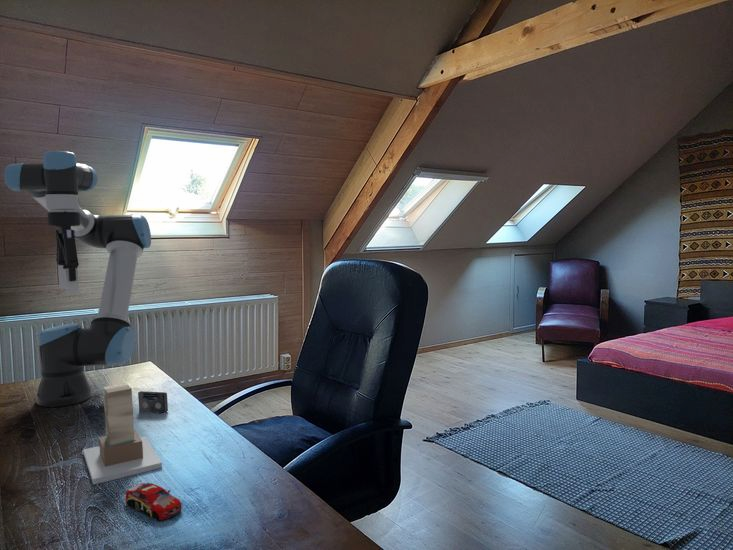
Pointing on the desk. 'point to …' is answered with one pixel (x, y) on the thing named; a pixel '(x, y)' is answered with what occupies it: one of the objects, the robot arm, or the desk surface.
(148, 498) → the race car
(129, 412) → the maple pillar
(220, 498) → the desk surface
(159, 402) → the mini dv tape
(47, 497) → the desk surface
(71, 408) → the desk surface
